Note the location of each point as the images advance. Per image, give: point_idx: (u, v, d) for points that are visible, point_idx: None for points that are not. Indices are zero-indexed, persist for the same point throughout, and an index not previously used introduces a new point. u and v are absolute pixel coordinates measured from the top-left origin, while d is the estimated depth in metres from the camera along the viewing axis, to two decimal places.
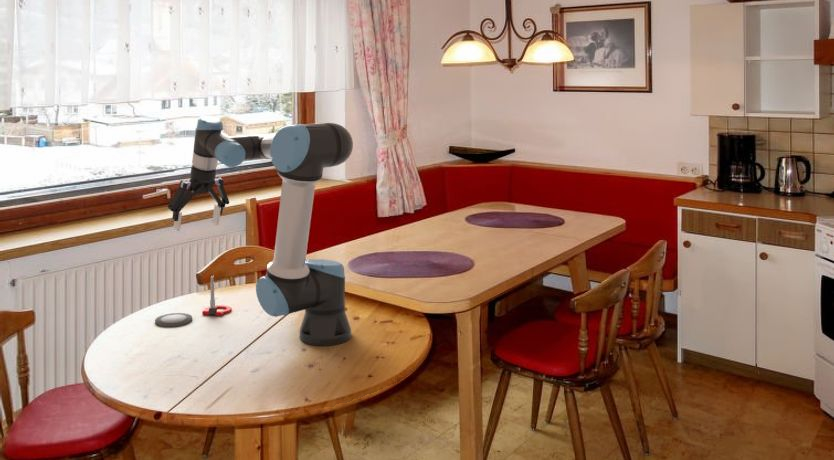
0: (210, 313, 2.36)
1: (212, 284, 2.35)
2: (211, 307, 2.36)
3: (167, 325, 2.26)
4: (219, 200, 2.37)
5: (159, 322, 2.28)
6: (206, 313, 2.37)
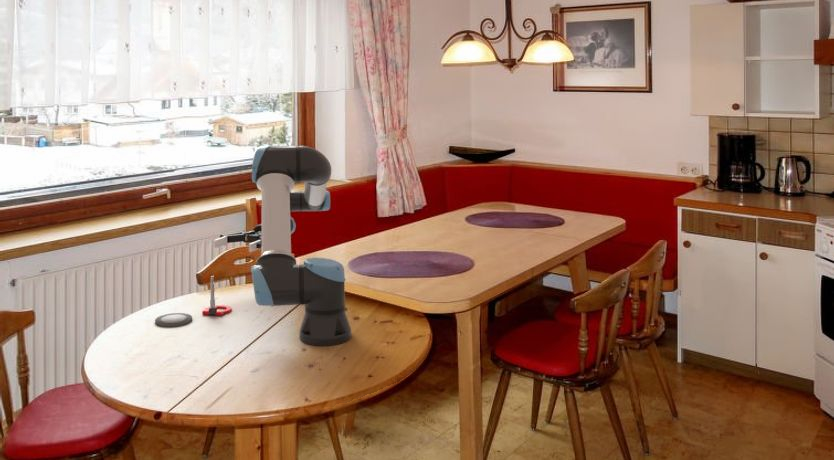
0: (210, 313, 2.36)
1: (212, 284, 2.35)
2: (211, 307, 2.36)
3: (167, 325, 2.26)
4: None
5: (159, 322, 2.28)
6: (206, 313, 2.37)
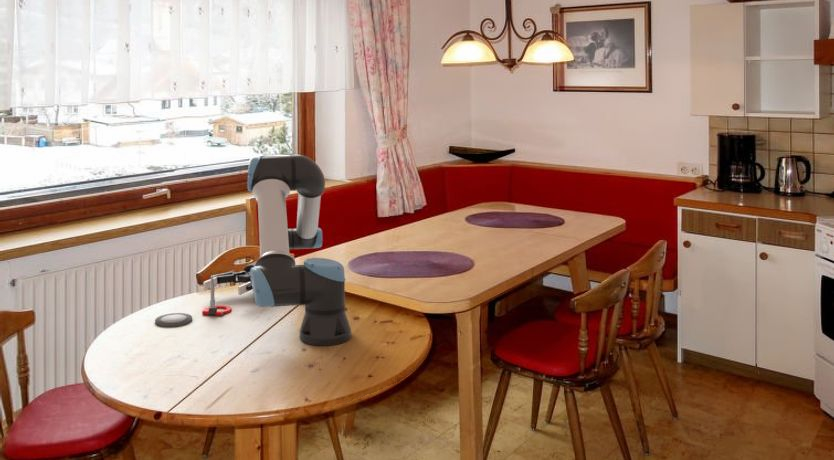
0: (210, 313, 2.36)
1: (212, 284, 2.35)
2: (211, 307, 2.36)
3: (167, 325, 2.26)
4: None
5: (159, 322, 2.28)
6: (206, 313, 2.37)
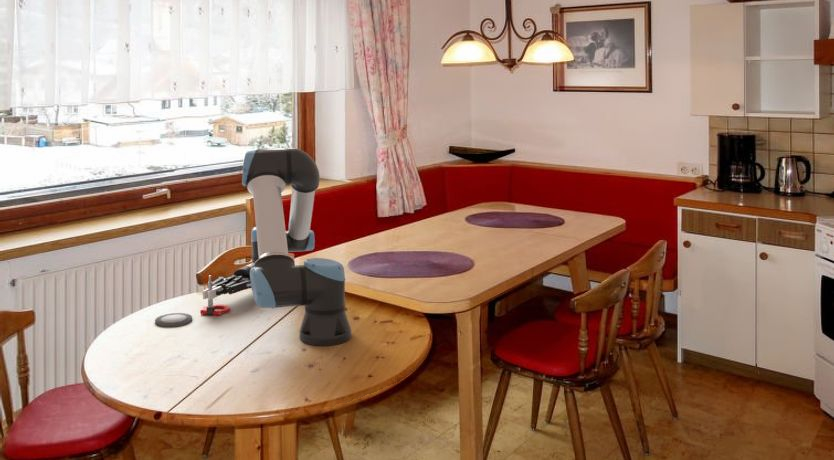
0: (208, 312, 2.37)
1: (210, 283, 2.35)
2: (209, 306, 2.36)
3: (167, 325, 2.26)
4: (228, 284, 2.42)
5: (159, 322, 2.28)
6: (204, 312, 2.37)
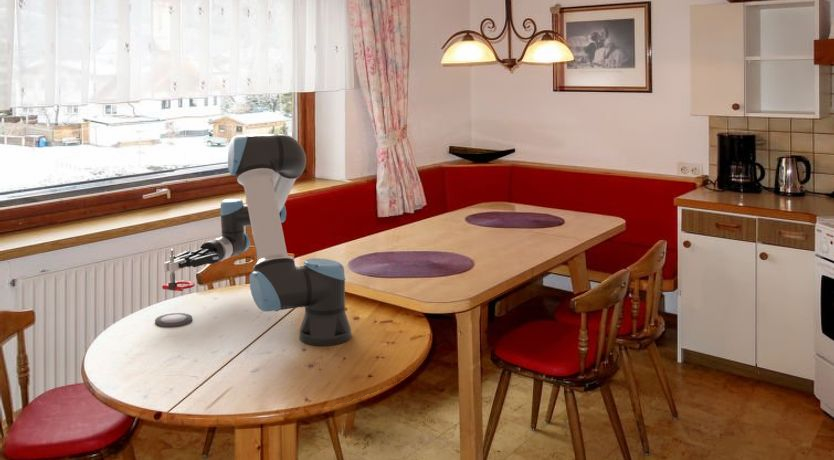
0: (170, 288, 2.28)
1: (172, 257, 2.26)
2: (171, 281, 2.27)
3: (167, 325, 2.26)
4: (192, 257, 2.33)
5: (159, 322, 2.28)
6: (166, 287, 2.28)
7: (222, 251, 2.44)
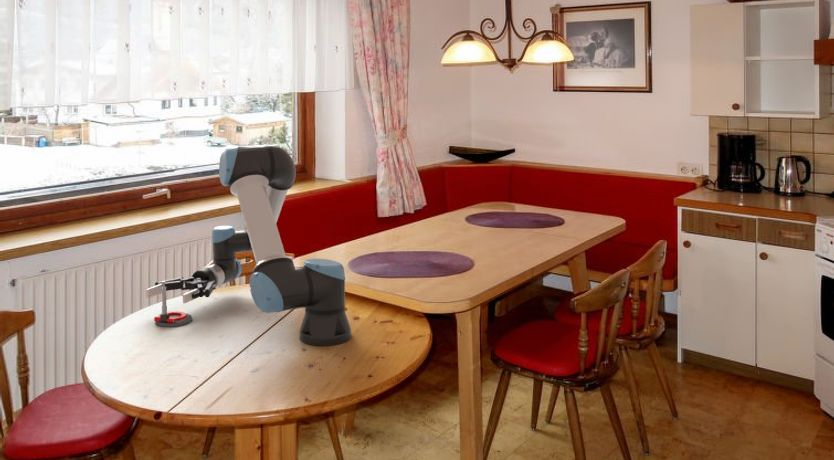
0: (162, 320, 2.27)
1: (163, 289, 2.25)
2: (162, 313, 2.26)
3: (167, 325, 2.26)
4: (200, 287, 2.32)
5: (159, 322, 2.28)
6: (158, 319, 2.27)
7: (214, 279, 2.43)
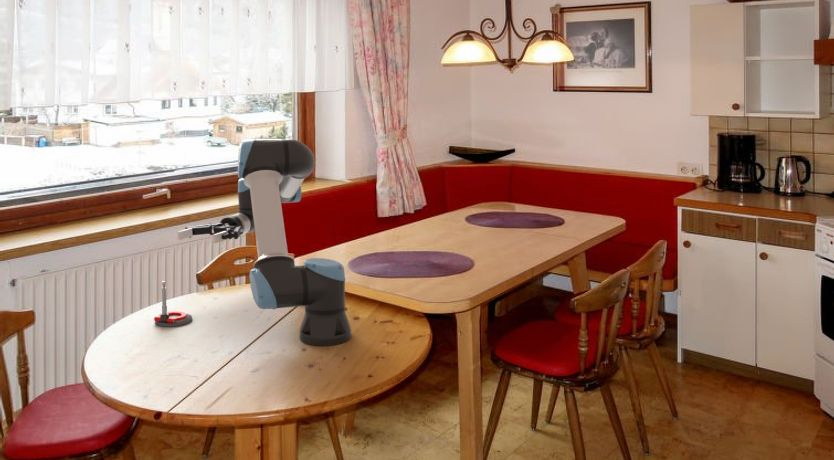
0: (162, 320, 2.27)
1: (163, 289, 2.25)
2: (162, 313, 2.26)
3: (167, 325, 2.26)
4: None
5: (159, 322, 2.28)
6: (158, 319, 2.27)
7: (241, 226, 2.54)
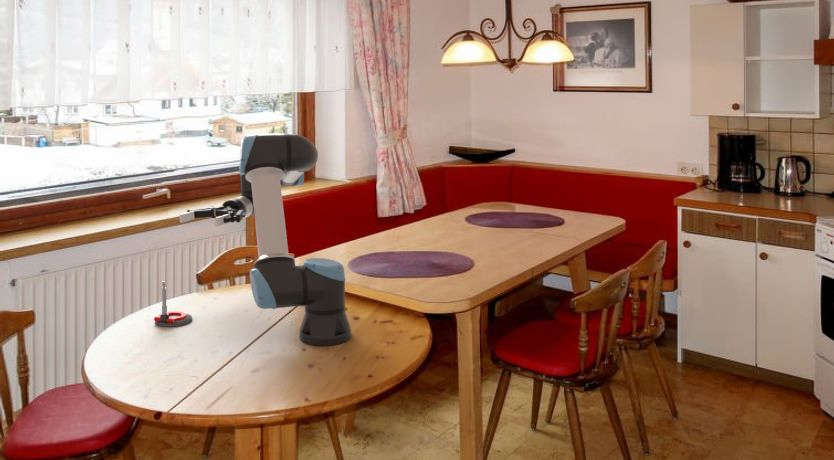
0: (162, 320, 2.27)
1: (163, 289, 2.25)
2: (162, 313, 2.26)
3: (167, 325, 2.26)
4: None
5: (159, 322, 2.28)
6: (158, 319, 2.27)
7: (243, 209, 2.52)
